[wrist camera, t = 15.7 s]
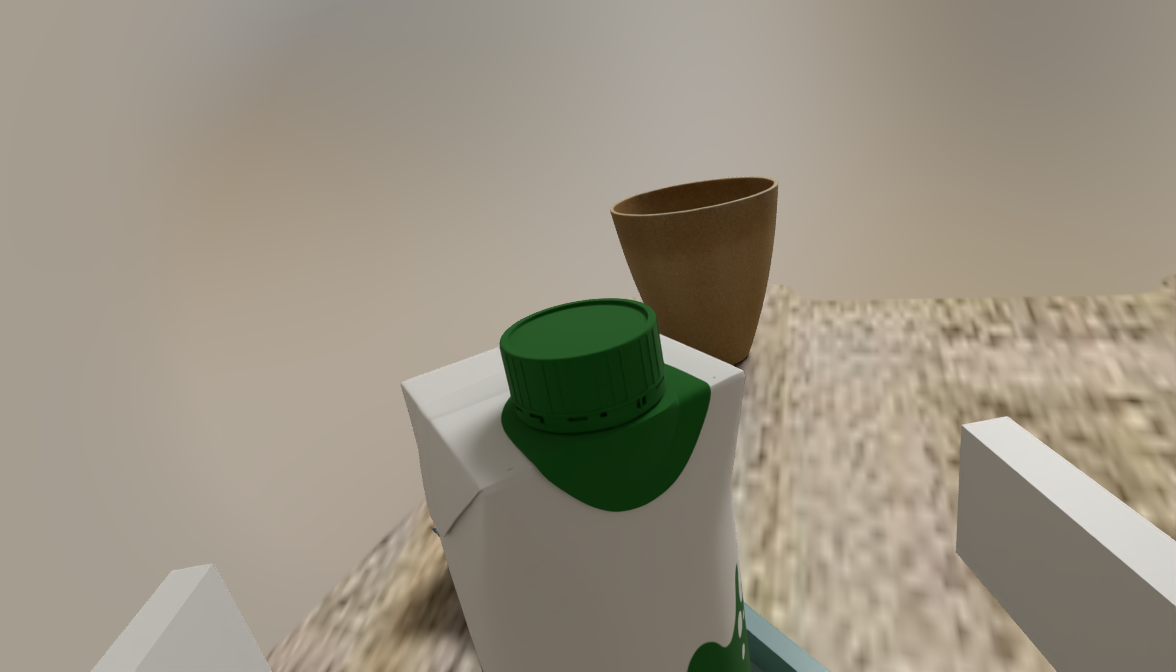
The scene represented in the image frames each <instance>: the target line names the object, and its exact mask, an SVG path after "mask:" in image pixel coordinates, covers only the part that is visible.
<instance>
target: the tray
mask: <svg viewBox="0 0 1176 672" xmlns="http://www.w3.org/2000/svg"><path fill="white" fill-rule="evenodd" d="M744 612H745V621H746V630H747V640H748V649H749V658H750V668H751V672H831V671H829V670H828V669H827V668H826V667H824V666H823V665H822V664H821V663H819V662H818V661H817V660H816V659H814V658H813V657H812V656H811V655H809V654H808V653H807V652H806V651H804V650H803V649H802V648H801V647H799V646H798V645H797V644H796V643H794V642H793V641H792V640H791V639H789V638H788V637H787V636H786V635H784V634H783V633H782V632H781V631H779V630H778V629H777V628H776V627H774V626H773V625H772V624H771V623H769V622H768V621H767V620H766V619H764V618H763V617H762V616H761V615H759V614H758V613H757V612H756V611H754V610H753V609H752V608H751V607H749V606H748V605H747V604H746V603H744Z"/></svg>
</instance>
